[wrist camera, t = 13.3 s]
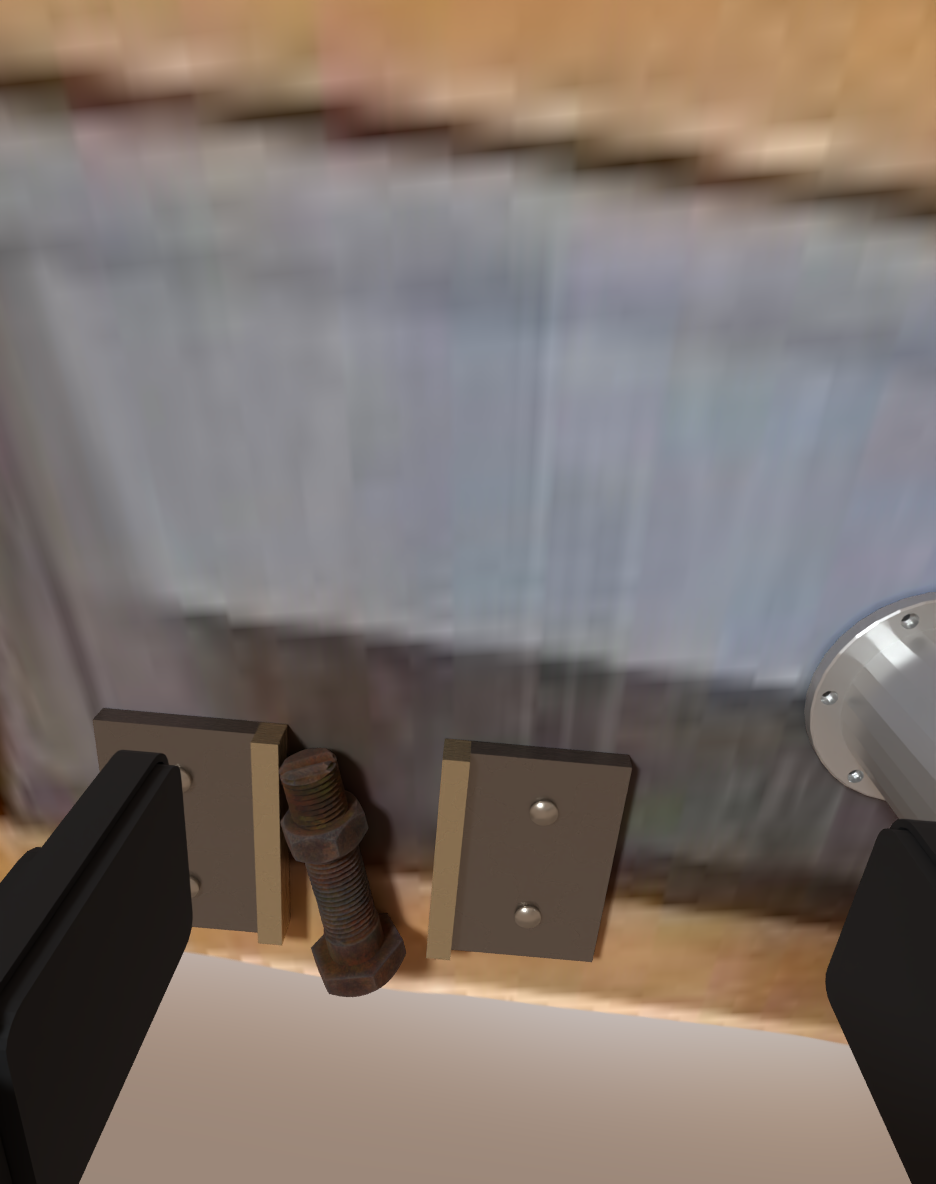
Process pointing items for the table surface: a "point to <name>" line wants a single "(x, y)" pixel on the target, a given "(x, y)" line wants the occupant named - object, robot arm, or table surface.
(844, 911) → the table surface
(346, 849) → the bolt
